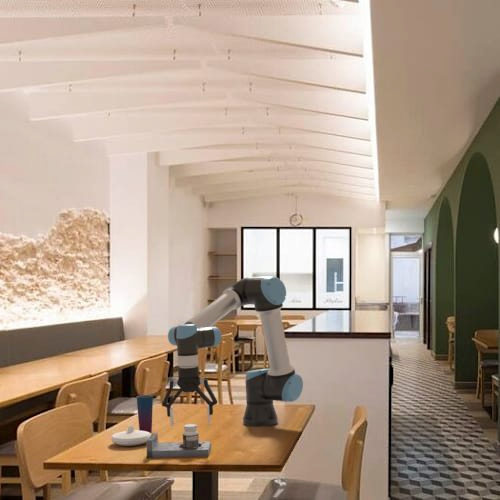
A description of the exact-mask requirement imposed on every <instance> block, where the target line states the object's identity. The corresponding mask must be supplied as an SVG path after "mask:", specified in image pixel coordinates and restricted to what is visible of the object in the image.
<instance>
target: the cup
mask: <svg viewBox="0 0 500 500" xmlns="http://www.w3.org/2000/svg"><path fill="white" fill-rule="evenodd" d="M153 401H154V395H151V394H141V395H138V396H137V395H136V404H137V406H136V407H137V417H138V429H139V430H140V431H147V432H149V433H150V434H152V431H153V429H152V428H153V405H154V404H153Z"/></svg>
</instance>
